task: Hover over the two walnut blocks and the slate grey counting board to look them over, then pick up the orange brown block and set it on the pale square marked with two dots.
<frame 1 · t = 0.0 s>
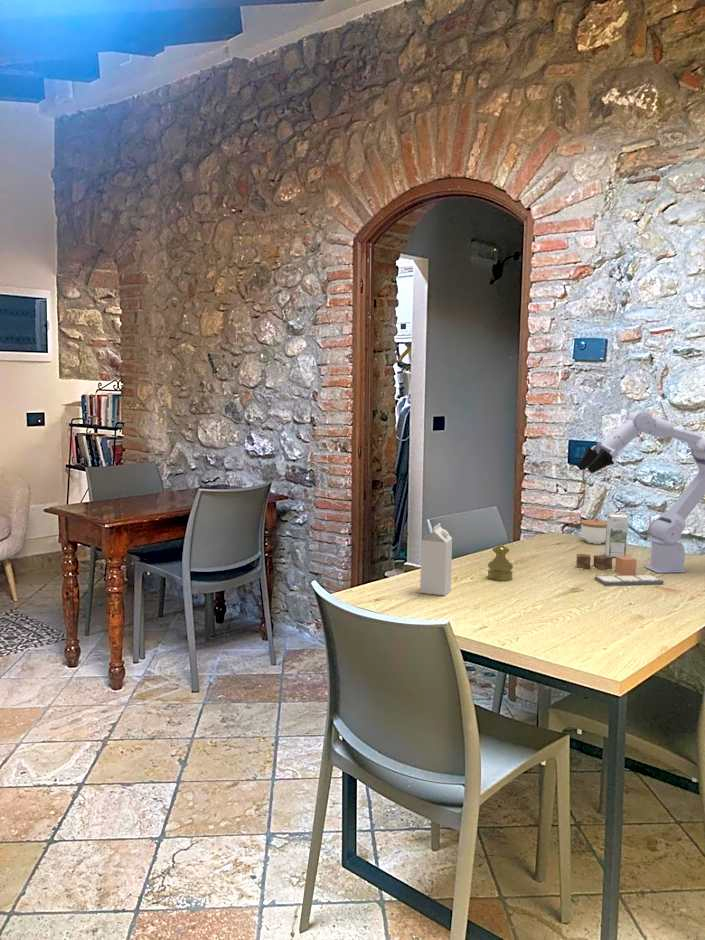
hand: (584, 469, 236), 32 cm above the table, tool tilted 50°, fingers open, 7 cm apart
lidded jar: (595, 543, 284), on the table
milk carton: (435, 592, 215), on the table
syrup box: (615, 556, 262), on the table
counting board: (628, 582, 228), on the table
walnut block 1: (602, 568, 245), on the table
orange brown block: (625, 573, 238), on the table
walnut block 2: (583, 567, 246), on the table
olive green tiered piece: (499, 578, 231), on the table
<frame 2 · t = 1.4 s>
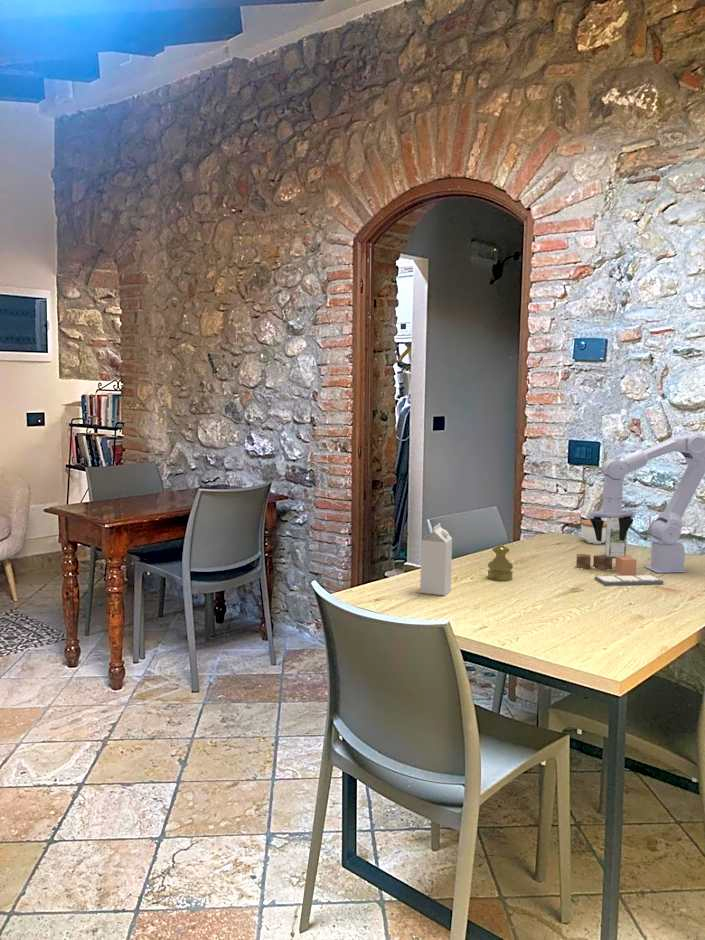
hand: (610, 540, 242), 9 cm above the table, tool pointing down, fingers open, 7 cm apart
nothing on the table moved.
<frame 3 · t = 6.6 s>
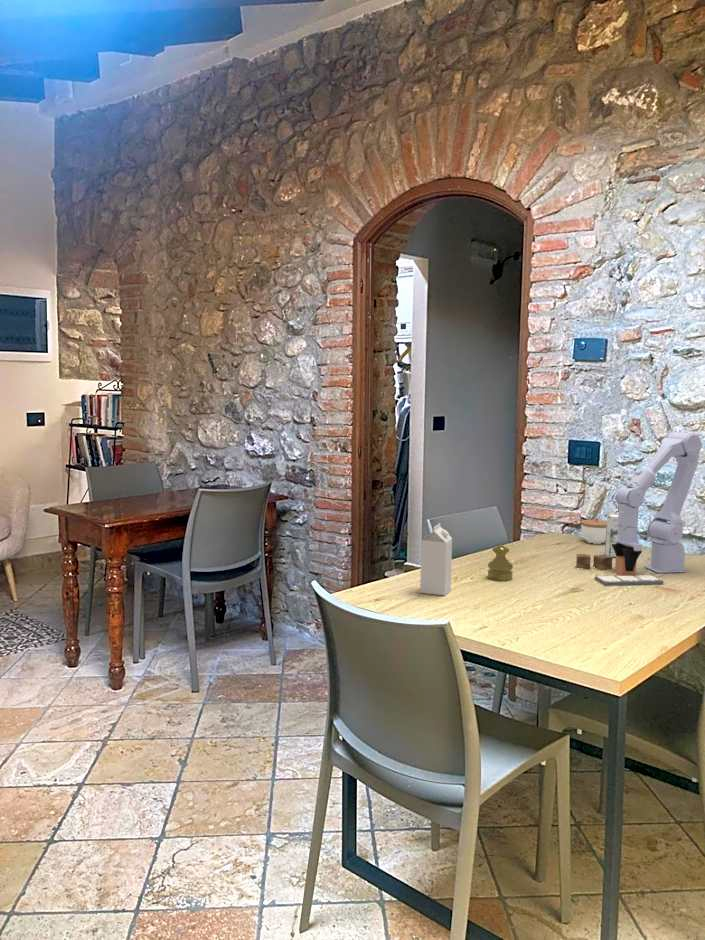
hand: (625, 568, 238), 1 cm above the table, tool pointing down, fingers closed on orange brown block, 4 cm apart
orange brown block: (625, 573, 238), on the table, touching gripper
everything else where it was.
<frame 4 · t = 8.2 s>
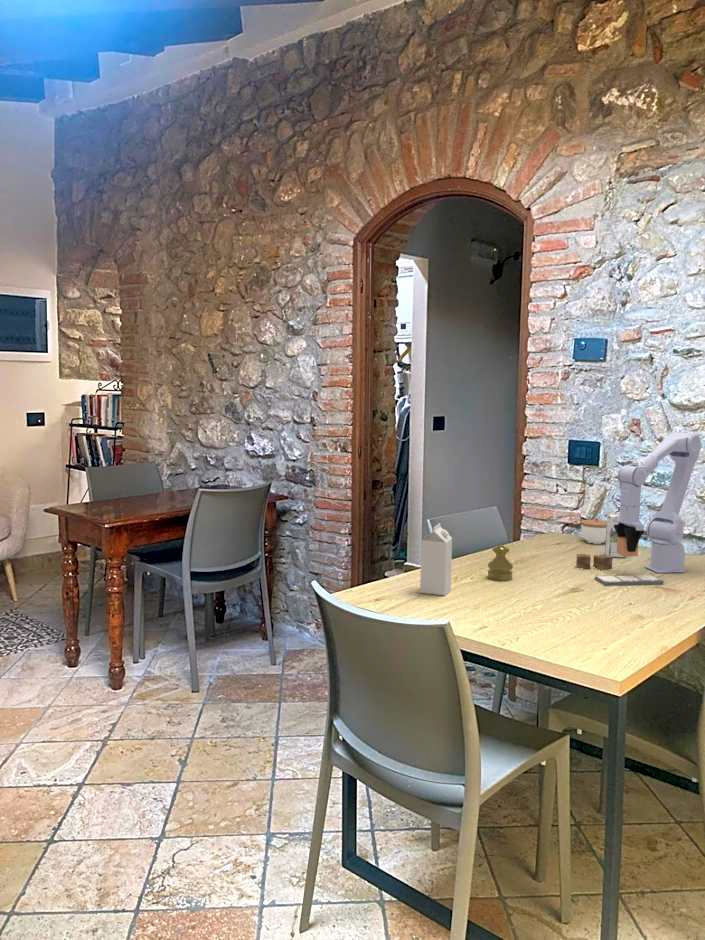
hand: (627, 549, 233), 9 cm above the table, tool pointing down, fingers closed on orange brown block, 4 cm apart
orange brown block: (626, 554, 233), point 7 cm above the table, touching gripper
everything else where it was.
when the fingers open (4 cm above the table, at t = 9.9 s): orange brown block drops 1 cm, resting on counting board.
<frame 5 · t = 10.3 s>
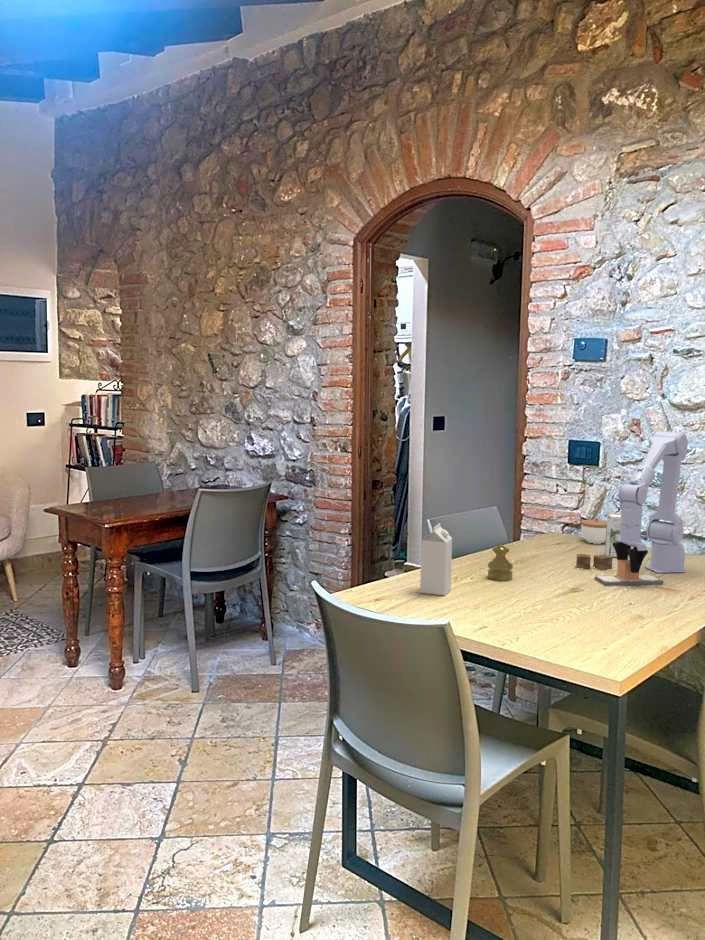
hand: (628, 569, 228), 4 cm above the table, tool pointing down, fingers open, 7 cm apart
orange brown block: (627, 577, 228), point 1 cm above the table, touching counting board
everything else where it was.
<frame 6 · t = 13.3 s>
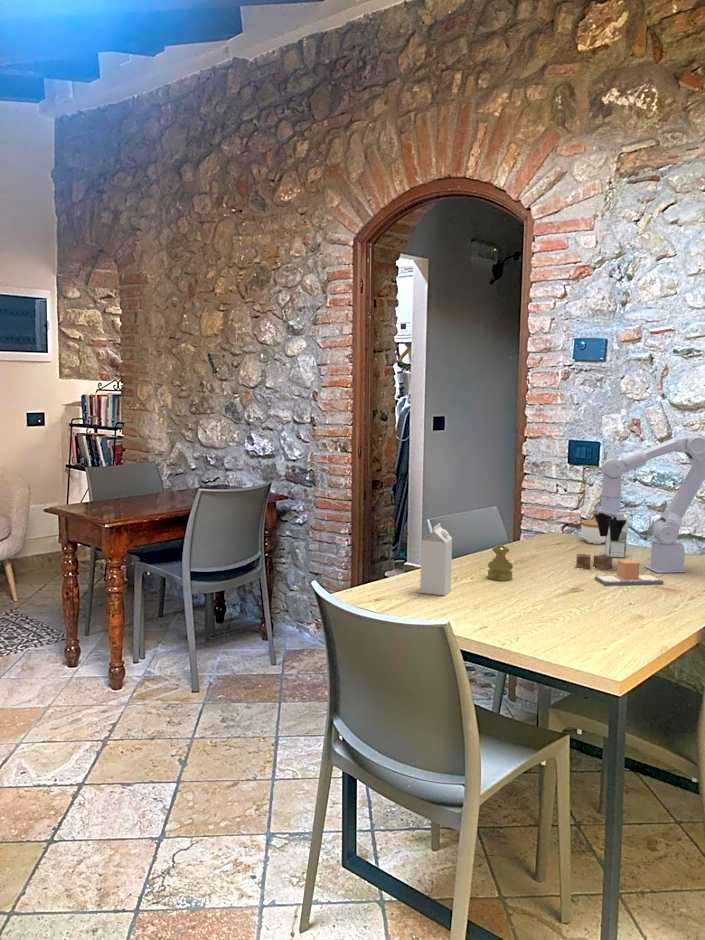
hand: (608, 538, 245), 9 cm above the table, tool pointing down, fingers open, 7 cm apart
nothing on the table moved.
at the end: orange brown block 0.1 cm off-centre on the counting board, point 1.1 cm above the counting board's base; orange brown block tilted 0°; the gripper is holding nothing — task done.
